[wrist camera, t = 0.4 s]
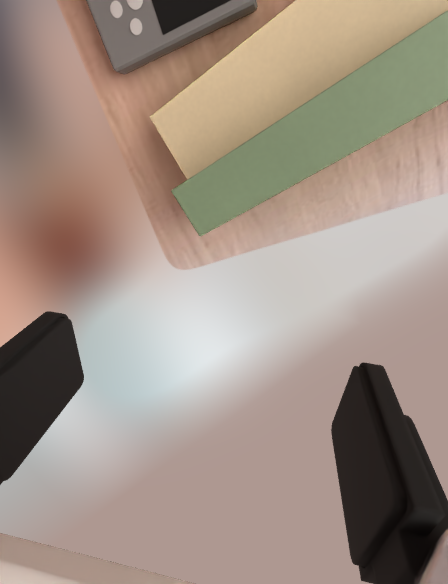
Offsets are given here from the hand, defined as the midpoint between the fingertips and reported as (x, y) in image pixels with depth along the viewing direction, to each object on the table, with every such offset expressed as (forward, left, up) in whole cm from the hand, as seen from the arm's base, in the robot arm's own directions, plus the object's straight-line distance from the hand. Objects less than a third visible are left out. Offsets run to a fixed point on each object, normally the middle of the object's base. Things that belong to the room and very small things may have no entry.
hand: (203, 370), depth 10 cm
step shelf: (-7, +7, -30) cm, 32 cm away
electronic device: (-22, +1, -30) cm, 37 cm away
